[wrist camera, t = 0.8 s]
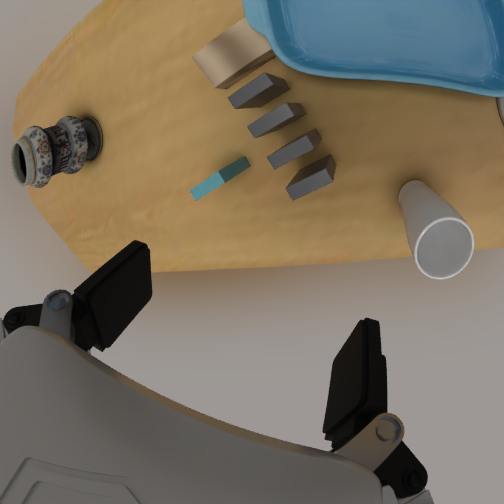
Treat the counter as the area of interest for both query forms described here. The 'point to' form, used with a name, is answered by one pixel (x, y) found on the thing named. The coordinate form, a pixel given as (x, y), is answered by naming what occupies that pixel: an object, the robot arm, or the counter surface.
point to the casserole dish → (389, 40)
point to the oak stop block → (233, 55)
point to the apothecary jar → (55, 150)
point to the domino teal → (219, 178)
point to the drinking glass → (435, 231)
